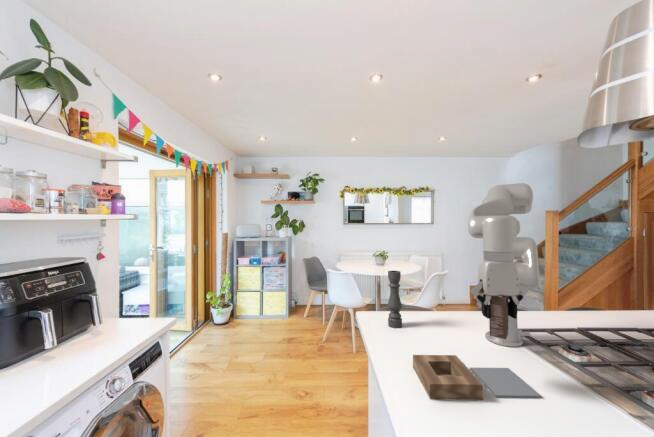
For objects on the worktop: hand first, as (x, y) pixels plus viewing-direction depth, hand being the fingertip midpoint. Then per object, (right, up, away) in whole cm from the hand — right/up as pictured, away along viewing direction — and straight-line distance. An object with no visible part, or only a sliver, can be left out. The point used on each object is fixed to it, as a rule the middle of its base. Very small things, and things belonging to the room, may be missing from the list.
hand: (499, 316), depth 79 cm
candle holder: (-20, -21, +44) cm, 53 cm away
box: (0, -6, 0) cm, 6 cm away
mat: (+1, -19, -1) cm, 19 cm away
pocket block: (-16, -19, 0) cm, 25 cm away
